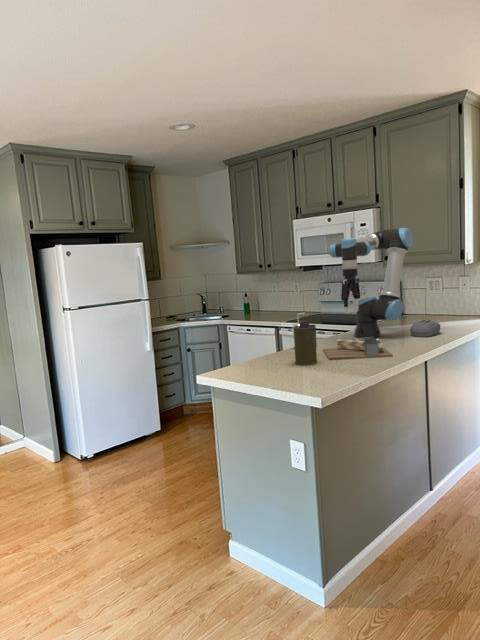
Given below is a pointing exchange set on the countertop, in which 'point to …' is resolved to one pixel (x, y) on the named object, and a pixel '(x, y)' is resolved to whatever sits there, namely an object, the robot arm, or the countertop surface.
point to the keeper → (370, 346)
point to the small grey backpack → (425, 328)
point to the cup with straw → (298, 321)
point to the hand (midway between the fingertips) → (351, 312)
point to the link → (355, 345)
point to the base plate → (351, 354)
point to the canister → (305, 343)
